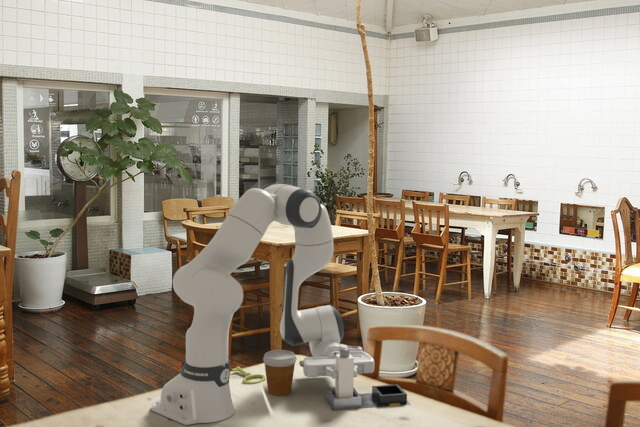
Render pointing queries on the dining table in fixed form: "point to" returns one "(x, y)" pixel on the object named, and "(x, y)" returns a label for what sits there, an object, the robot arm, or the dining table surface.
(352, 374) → the plug
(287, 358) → the disposable coffee cup
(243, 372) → the key
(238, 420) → the dining table surface
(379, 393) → the panel
